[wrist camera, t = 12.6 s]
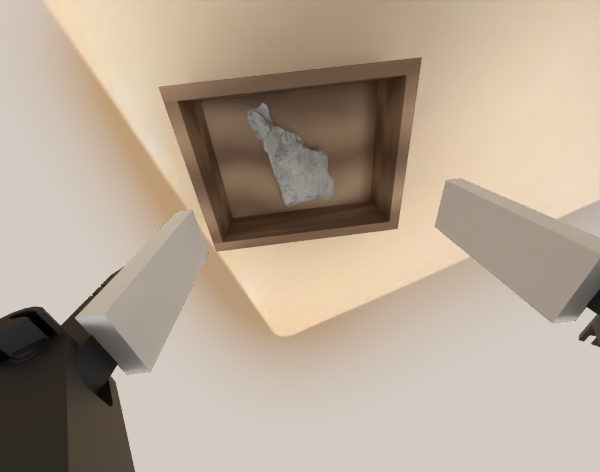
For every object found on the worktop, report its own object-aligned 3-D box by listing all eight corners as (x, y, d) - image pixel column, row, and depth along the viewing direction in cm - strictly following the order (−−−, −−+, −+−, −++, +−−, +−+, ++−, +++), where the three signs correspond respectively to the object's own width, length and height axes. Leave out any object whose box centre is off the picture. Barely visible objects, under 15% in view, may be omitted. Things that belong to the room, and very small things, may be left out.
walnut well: (190, 91, 23) (158, 87, 17) (384, 69, 23) (421, 57, 17) (228, 222, 31) (216, 251, 25) (374, 204, 31) (397, 228, 25)
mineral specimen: (304, 89, 23) (310, 81, 20) (336, 194, 29) (346, 205, 25) (247, 113, 24) (241, 110, 20) (289, 213, 29) (291, 226, 25)
